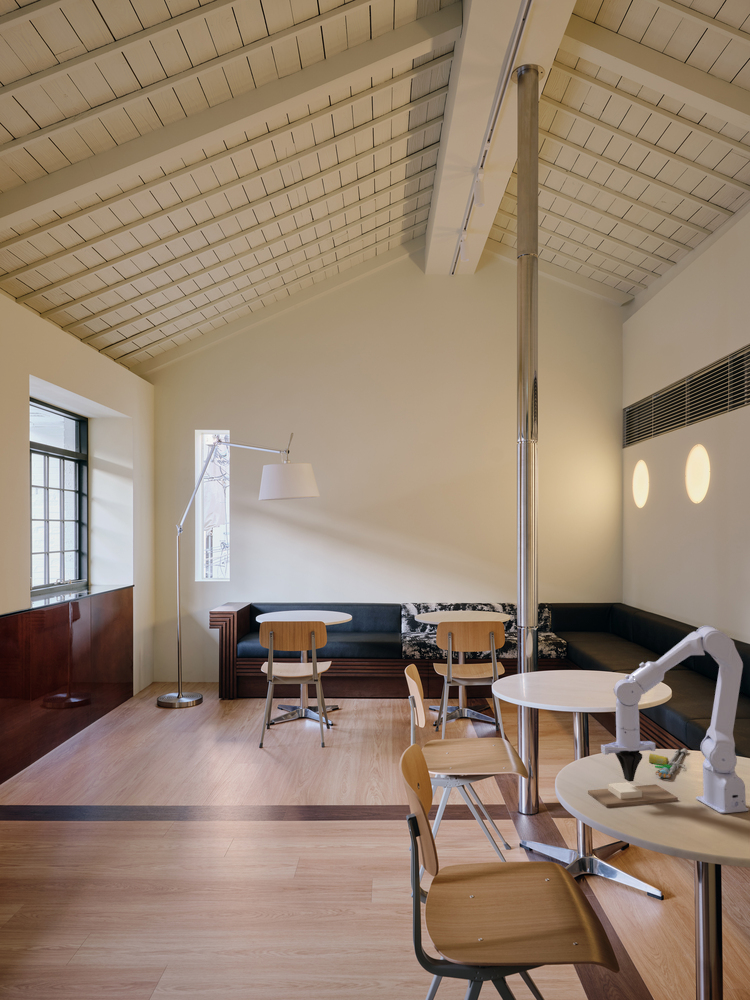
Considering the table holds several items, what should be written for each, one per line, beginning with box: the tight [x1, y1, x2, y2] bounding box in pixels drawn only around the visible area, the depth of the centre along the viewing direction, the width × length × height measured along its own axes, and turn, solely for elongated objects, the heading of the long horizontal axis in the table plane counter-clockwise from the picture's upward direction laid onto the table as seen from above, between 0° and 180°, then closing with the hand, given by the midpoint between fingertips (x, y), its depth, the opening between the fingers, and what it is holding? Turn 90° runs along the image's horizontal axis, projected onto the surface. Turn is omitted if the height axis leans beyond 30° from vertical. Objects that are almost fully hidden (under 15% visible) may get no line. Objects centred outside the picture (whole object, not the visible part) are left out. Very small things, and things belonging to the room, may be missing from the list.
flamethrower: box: [648, 748, 689, 779], centre depth 195 cm, size 29×3×10 cm
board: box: [587, 784, 679, 808], centre depth 170 cm, size 9×20×1 cm, turn 101°
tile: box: [607, 781, 642, 799], centre depth 171 cm, size 6×2×6 cm
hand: (629, 780), depth 171 cm, fingers closed
